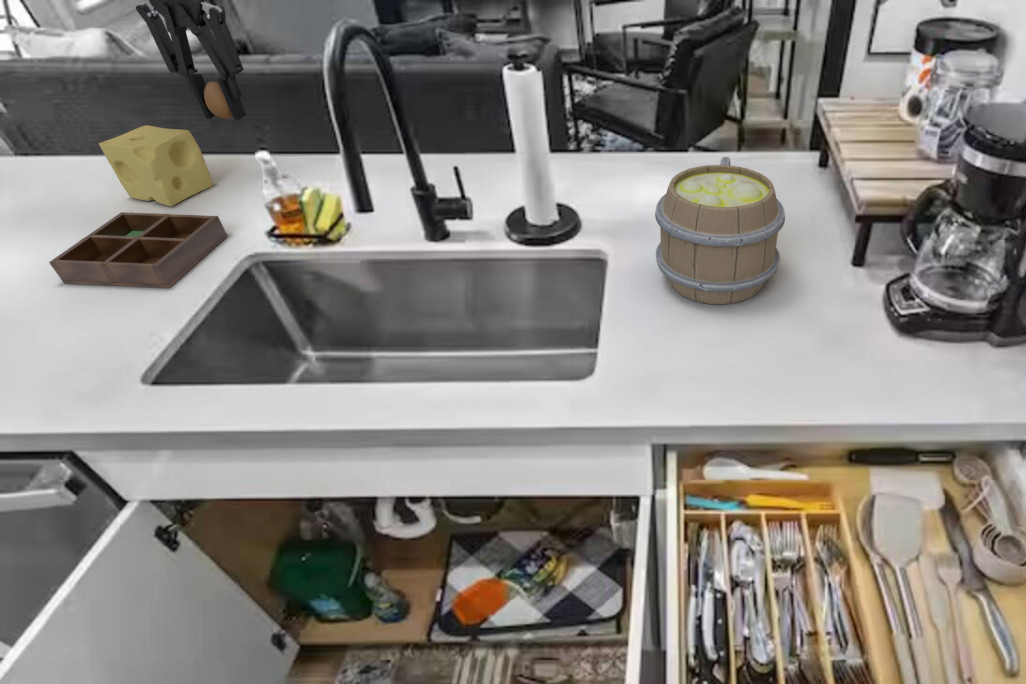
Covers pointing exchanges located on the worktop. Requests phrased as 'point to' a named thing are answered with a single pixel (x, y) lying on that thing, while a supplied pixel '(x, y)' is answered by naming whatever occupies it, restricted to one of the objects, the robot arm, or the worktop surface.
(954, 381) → the worktop surface
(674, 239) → the mug
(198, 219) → the grid
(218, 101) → the egg
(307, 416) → the worktop surface
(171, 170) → the cheese
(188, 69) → the robot arm
